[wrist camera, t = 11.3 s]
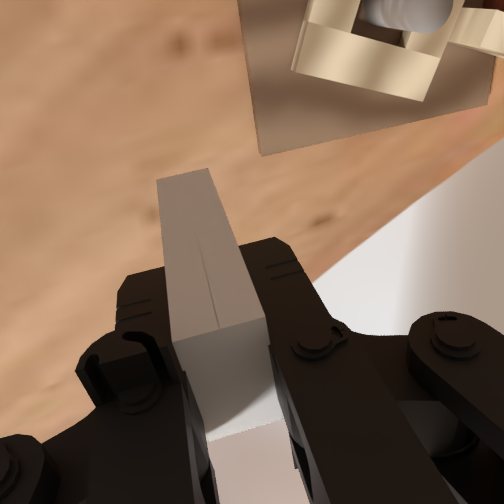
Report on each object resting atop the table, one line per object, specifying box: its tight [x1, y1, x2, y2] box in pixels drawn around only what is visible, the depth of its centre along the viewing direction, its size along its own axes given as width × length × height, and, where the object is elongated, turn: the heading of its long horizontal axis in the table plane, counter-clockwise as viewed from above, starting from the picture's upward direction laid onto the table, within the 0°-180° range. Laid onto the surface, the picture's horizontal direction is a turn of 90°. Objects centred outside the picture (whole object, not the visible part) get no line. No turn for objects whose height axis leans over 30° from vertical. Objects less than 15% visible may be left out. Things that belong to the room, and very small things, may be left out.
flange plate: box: [291, 0, 504, 102], centre depth 31 cm, size 19×12×5 cm, turn 76°
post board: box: [237, 0, 504, 157], centre depth 30 cm, size 20×22×8 cm
